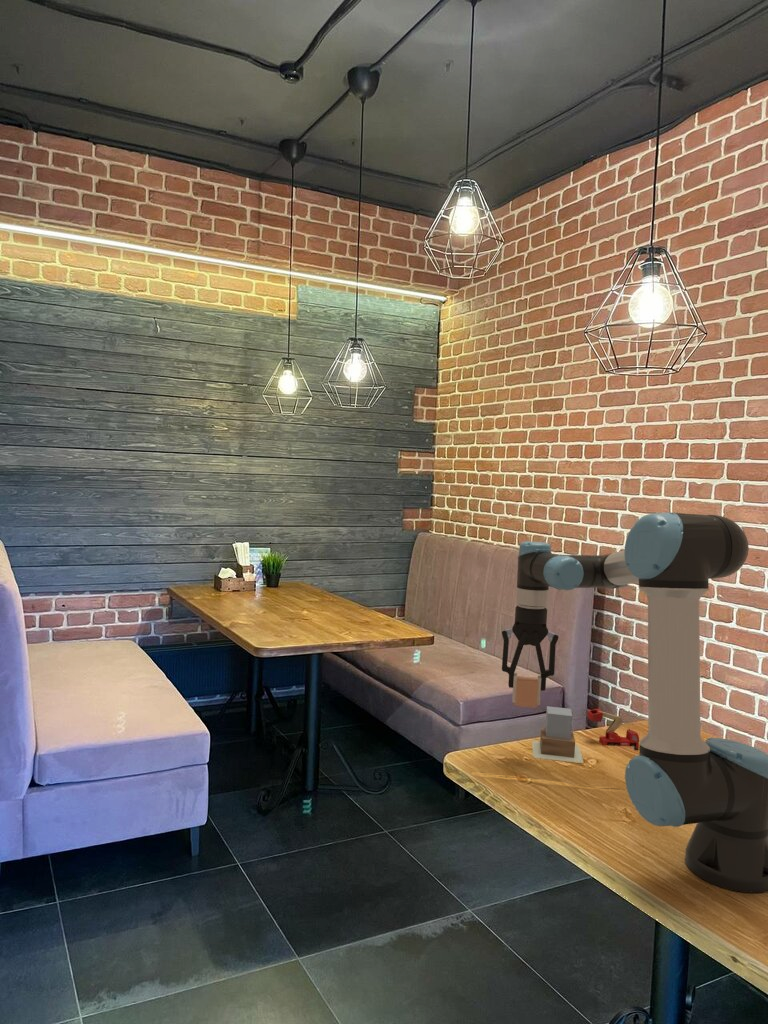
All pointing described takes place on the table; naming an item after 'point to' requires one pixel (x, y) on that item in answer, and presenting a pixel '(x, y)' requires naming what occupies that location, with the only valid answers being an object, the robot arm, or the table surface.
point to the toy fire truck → (611, 736)
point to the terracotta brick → (526, 691)
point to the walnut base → (557, 745)
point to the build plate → (538, 754)
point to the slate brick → (558, 723)
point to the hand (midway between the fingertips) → (525, 702)
